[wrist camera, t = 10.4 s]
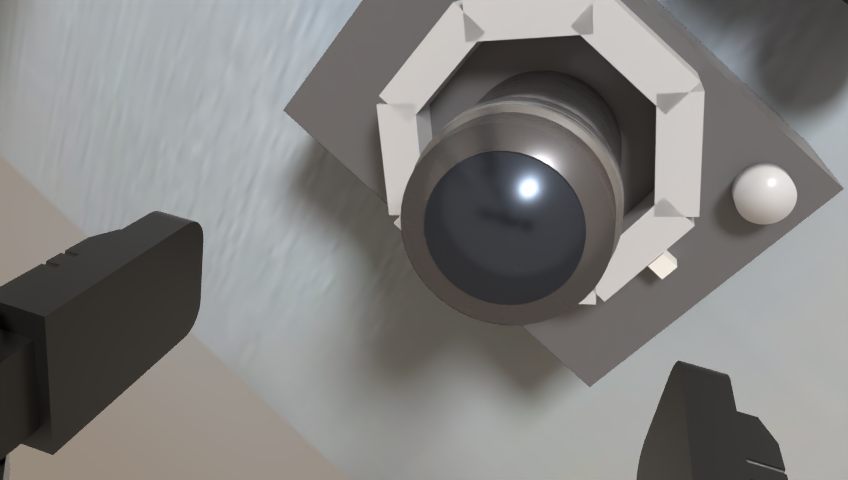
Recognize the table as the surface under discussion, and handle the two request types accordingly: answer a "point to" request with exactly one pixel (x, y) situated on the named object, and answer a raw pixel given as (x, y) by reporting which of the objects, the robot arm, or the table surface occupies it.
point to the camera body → (640, 133)
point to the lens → (518, 201)
